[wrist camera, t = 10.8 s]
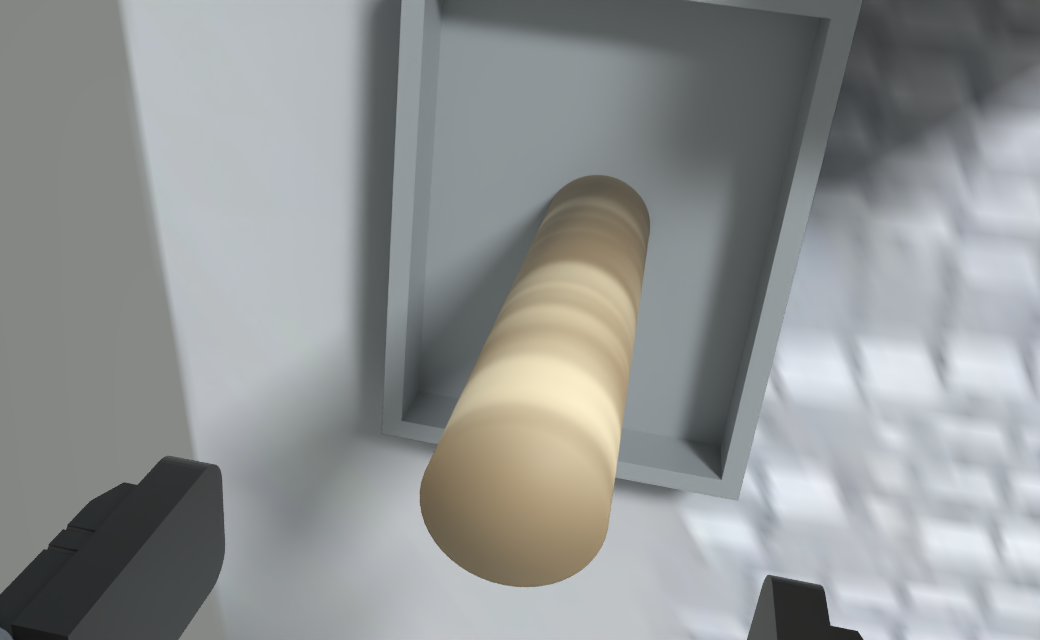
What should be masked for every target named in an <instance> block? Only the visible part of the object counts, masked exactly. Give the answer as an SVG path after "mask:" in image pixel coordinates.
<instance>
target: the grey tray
mask: <svg viewBox="0 0 1040 640" xmlns="http://www.w3.org/2000/svg"><path fill="white" fill-rule="evenodd" d="M862 1H863V0H402V1H401V23H400V45H399V67H398V89H397V111H396V133H395V155H394V176H393V198H392V220H391V242H390V264H389V286H388V308H387V330H386V352H385V373H384V395H383V417H382V434H386V435H391V436H396V437H402V438H407V439H412V440H417V441H423V442H428V443H433V444H438V443H439V441H440V438H441V436H442V434H443V432H444V430H445V428H446V426H447V424H448V421H449V419H450V417H451V415H452V413H453V411H454V409H455V406H456V404H457V402H458V400H459V398H460V396H461V394H462V392H463V389H464V387H465V385H466V383H467V381H468V379H469V377H470V374H471V372H472V370H473V368H474V366H475V364H476V362H477V360H478V357H479V355H480V353H481V351H482V349H483V347H484V345H485V343H486V340H487V338H488V336H489V334H490V332H491V330H492V328H493V325H494V323H495V321H496V319H497V317H498V315H499V313H500V311H501V308H502V306H503V304H504V302H505V300H506V298H507V296H508V294H509V291H510V289H511V287H512V285H513V283H514V281H515V279H516V276H517V274H518V272H519V270H520V268H521V266H522V264H523V262H524V259H525V257H526V255H527V253H528V251H529V249H530V247H531V245H532V242H533V240H534V238H535V236H536V234H537V232H538V230H539V227H540V225H541V223H542V221H543V219H544V217H545V215H546V213H547V210H548V208H549V206H550V204H551V202H552V200H553V198H554V197H555V196H556V194H557V193H558V192H559V191H560V190H561V189H562V188H563V187H564V186H565V185H567V184H568V183H570V182H571V181H573V180H575V179H578V178H581V177H584V176H589V175H606V176H610V177H614V178H617V179H619V180H621V181H623V182H625V183H627V184H628V185H630V186H631V187H632V188H633V189H634V190H635V191H636V192H637V193H638V194H639V195H640V196H641V198H642V199H643V201H644V203H645V205H646V207H647V210H648V213H649V218H650V234H649V241H648V248H647V255H646V262H645V270H644V277H643V284H642V291H641V298H640V305H639V312H638V319H637V326H636V333H635V340H634V347H633V355H632V362H631V369H630V376H629V383H628V390H627V397H626V404H625V411H624V418H623V425H622V432H621V440H620V447H619V454H618V461H617V468H616V475H615V478H620V479H625V480H631V481H636V482H641V483H647V484H652V485H657V486H663V487H668V488H673V489H678V490H684V491H689V492H694V493H700V494H705V495H710V496H716V497H721V498H726V499H732V500H737V501H738V499H739V495H740V491H741V487H742V483H743V478H744V474H745V470H746V466H747V462H748V458H749V454H750V450H751V446H752V442H753V438H754V434H755V430H756V426H757V422H758V418H759V414H760V410H761V406H762V402H763V398H764V394H765V390H766V386H767V382H768V378H769V374H770V370H771V366H772V362H773V358H774V354H775V350H776V346H777V342H778V338H779V334H780V330H781V326H782V322H783V318H784V314H785V310H786V306H787V302H788V298H789V294H790V290H791V286H792V282H793V278H794V274H795V270H796V266H797V262H798V258H799V254H800V250H801V246H802V242H803V238H804V234H805V230H806V226H807V222H808V218H809V214H810V210H811V206H812V202H813V198H814V194H815V190H816V186H817V182H818V178H819V174H820V170H821V166H822V162H823V157H824V153H825V149H826V145H827V141H828V137H829V133H830V129H831V125H832V121H833V117H834V113H835V109H836V105H837V101H838V97H839V93H840V89H841V85H842V81H843V77H844V73H845V69H846V65H847V61H848V57H849V53H850V49H851V45H852V41H853V37H854V33H855V29H856V25H857V21H858V17H859V13H860V9H861V5H862Z"/></svg>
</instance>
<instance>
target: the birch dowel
mask: <svg viewBox="0 0 1040 640" xmlns="http://www.w3.org/2000/svg"><path fill="white" fill-rule="evenodd" d="M649 234H650V218H649V213H648V210H647V207H646V205H645V203H644V201H643V199H642V198H641V196H640V195H639V194H638V193H637V192H636V191H635V190H634V189H633V188H632V187H631V186H630V185H628V184H627V183H625V182H623V181H621V180H619V179H617V178H614V177H610V176H606V175H589V176H584V177H581V178H578V179H575V180H573V181H571V182H570V183H568V184H567V185H565V186H564V187H563V188H562V189H561V190H560V191H559V192H558V193H557V194H556V196H555V197H554V198H553V200H552V202H551V204H550V206H549V208H548V210H547V213H546V215H545V217H544V219H543V221H542V223H541V225H540V227H539V230H538V232H537V234H536V236H535V238H534V240H533V242H532V245H531V247H530V249H529V251H528V253H527V255H526V257H525V259H524V262H523V264H522V266H521V268H520V270H519V272H518V274H517V276H516V279H515V281H514V283H513V285H512V287H511V289H510V291H509V294H508V296H507V298H506V300H505V302H504V304H503V306H502V308H501V311H500V313H499V315H498V317H497V319H496V321H495V323H494V325H493V328H492V330H491V332H490V334H489V336H488V338H487V340H486V343H485V345H484V347H483V349H482V351H481V353H480V355H479V357H478V360H477V362H476V364H475V366H474V368H473V370H472V372H471V374H470V377H469V379H468V381H467V383H466V385H465V387H464V389H463V392H462V394H461V396H460V398H459V400H458V402H457V404H456V406H455V409H454V411H453V413H452V415H451V417H450V419H449V421H448V424H447V426H446V428H445V430H444V432H443V434H442V436H441V438H440V441H439V443H438V445H437V447H436V449H435V451H434V453H433V455H432V458H431V460H430V462H429V464H428V466H427V468H426V470H425V473H424V476H423V479H422V482H421V488H420V506H421V513H422V516H423V519H424V522H425V525H426V527H427V529H428V531H429V533H430V535H431V536H432V538H433V540H434V541H435V543H436V544H437V545H438V546H439V548H440V549H441V550H442V551H443V552H444V553H445V554H446V555H447V556H448V557H449V558H450V559H451V560H452V561H454V562H455V563H456V564H458V565H459V566H460V567H462V568H463V569H465V570H467V571H468V572H470V573H472V574H474V575H476V576H478V577H480V578H483V579H485V580H488V581H491V582H494V583H498V584H502V585H508V586H515V587H536V586H544V585H549V584H553V583H556V582H559V581H562V580H564V579H567V578H569V577H571V576H573V575H574V574H576V573H578V572H579V571H581V570H582V569H583V568H584V567H586V566H587V565H588V564H589V563H590V562H591V561H592V560H593V558H594V557H595V556H596V555H597V553H598V552H599V550H600V549H601V547H602V545H603V542H604V540H605V538H606V534H607V530H608V525H609V517H610V510H611V503H612V496H613V489H614V482H615V475H616V468H617V461H618V454H619V447H620V440H621V432H622V425H623V418H624V411H625V404H626V397H627V390H628V383H629V376H630V369H631V362H632V355H633V347H634V340H635V333H636V326H637V319H638V312H639V305H640V298H641V291H642V284H643V277H644V270H645V262H646V255H647V248H648V241H649Z"/></svg>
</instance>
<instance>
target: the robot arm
mask: <svg viewBox="0 0 1040 640" xmlns="http://www.w3.org/2000/svg"><path fill="white" fill-rule="evenodd" d="M224 553H225V533H224V512H223V490H222V475H221V471H220V469H219V467H218V466H217V465H214V464H209V463H204V462H199V461H194V460H189V459H183V458H178V457H173V456H166V457H164V458H162V459H161V460H160V461H159V462H158V463H157V464H156V465H155V467H154V468H153V469H152V470H151V471H150V472H149V473H148V474H147V475H146V476H145V478H144V479H143V480H142V481H141V482H140V483H139V484H138V485H134V484H129V483H122V484H120V485H118V486H117V487H115V488H113V489H111V490H109V491H108V492H106V493H104V494H102V495H100V496H98V497H97V498H95V499H93V500H91V501H90V502H89V503H88V504H87V505H86V506H85V507H84V508H83V509H82V510H81V511H80V512H79V513H78V514H77V516H75V518H74V519H73V520H72V521H71V522H70V523H69V524H68V526H67V529H66V530H62V531H61V532H60V533H59V534H58V535H57V536H56V538H54V539H53V540H52V542H50V544H49V547H48V549H47V550H45V549H44V550H43V551H42V552H41V553H40V554H39V555H38V556H37V557H36V558H35V559H34V560H33V561H32V562H31V563H30V564H29V565H28V566H27V567H26V568H25V569H24V571H23V572H22V573H21V574H20V575H19V576H18V577H17V578H16V579H15V580H14V581H13V582H12V583H11V584H10V585H9V586H8V587H7V588H6V589H5V590H4V591H3V592H2V593H1V594H0V640H178V639H179V638H180V636H181V635H182V633H183V632H184V630H185V629H186V627H187V626H188V624H189V623H190V621H191V620H192V618H193V617H194V615H195V614H196V612H197V611H198V610H199V608H200V607H201V605H202V604H203V602H204V601H205V599H206V598H207V596H208V595H209V593H210V592H211V590H212V589H213V587H214V585H215V583H216V581H217V579H218V577H219V574H220V571H221V568H222V564H223V560H224ZM747 640H863V638H862V637H861V635H860V634H859V632H858V631H854V630H849V629H844V628H839V627H834V626H830V621H829V615H828V608H827V602H826V596H825V591H824V588H823V587H822V586H821V585H818V584H813V583H808V582H803V581H798V580H793V579H788V578H782V577H777V576H772V575H767V576H766V578H765V580H764V583H763V586H762V589H761V592H760V596H759V599H758V603H757V606H756V610H755V613H754V617H753V621H752V624H751V628H750V631H749V635H748V638H747Z"/></svg>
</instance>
